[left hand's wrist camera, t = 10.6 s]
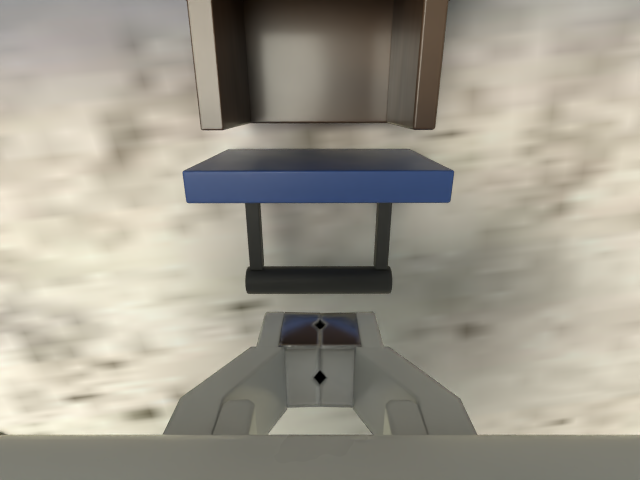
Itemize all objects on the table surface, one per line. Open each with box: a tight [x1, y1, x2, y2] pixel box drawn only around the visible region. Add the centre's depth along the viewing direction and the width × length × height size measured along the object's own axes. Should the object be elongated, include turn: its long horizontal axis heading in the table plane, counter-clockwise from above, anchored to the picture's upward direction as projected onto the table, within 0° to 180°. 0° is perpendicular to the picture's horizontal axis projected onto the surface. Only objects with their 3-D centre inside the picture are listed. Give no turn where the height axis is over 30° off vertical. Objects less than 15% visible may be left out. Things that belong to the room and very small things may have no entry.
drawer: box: [183, 0, 454, 294], centre depth 15 cm, size 21×10×7 cm, turn 0°
